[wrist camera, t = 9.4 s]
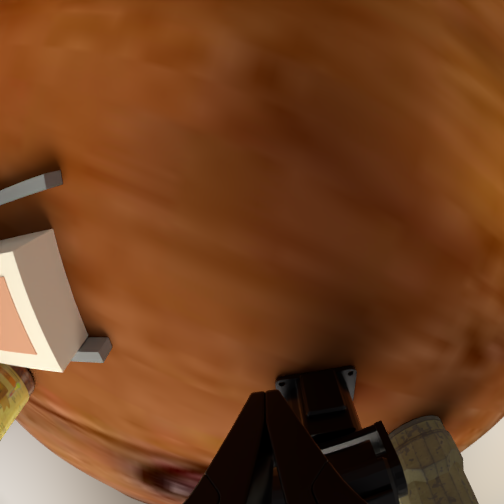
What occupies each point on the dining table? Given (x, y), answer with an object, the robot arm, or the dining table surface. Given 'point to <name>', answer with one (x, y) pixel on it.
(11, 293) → the carton
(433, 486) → the thermos
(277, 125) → the dining table surface
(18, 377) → the sauce bottle
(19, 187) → the frame
